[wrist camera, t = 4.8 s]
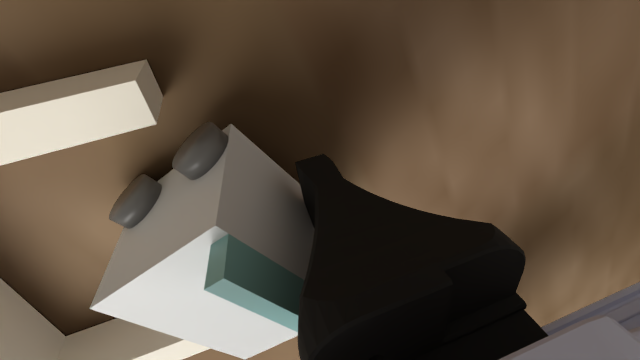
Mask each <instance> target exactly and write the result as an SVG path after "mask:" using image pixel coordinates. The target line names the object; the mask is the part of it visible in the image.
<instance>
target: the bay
mask: <svg viewBox="0 0 640 360" xmlns="http://www.w3.org/2000/svg"><path fill="white" fill-rule="evenodd" d="M162 100H163V95H162V93H161V90H160V88H159V86H158V84H157V82H156V79H155V77H154V75H153V73H152V70H151V68H150V66H149V64H148V61H147V59H146V60H142V61H137V62H133V63H129V64H124V65H120V66H116V67H111V68H107V69H103V70H98V71H94V72H89V73H85V74H81V75H76V76H72V77H68V78H63V79H59V80H55V81H50V82H46V83H42V84H37V85H33V86H29V87H24V88H20V89H16V90H11V91H7V92H3V93H0V165H4V164H8V163H12V162H15V161H19V160H23V159H27V158H31V157H34V156H38V155H42V154H46V153H49V152H53V151H57V150H61V149H65V148H68V147H72V146H76V145H80V144H84V143H87V142H91V141H95V140H99V139H102V138H106V137H110V136H114V135H118V134H121V133H125V132H129V131H133V130H137V129H140V128H144V127H148V126H152V125H155V124H157V121H158V117H159V112H160V108H161V104H162ZM208 349H210V348H208V347H205V346H202V345H199V344H196V343H193V342H190V341H187V340H184V339H181V338H178V337H175V336H172V335H168V334H165V333H162V332H159V331H156V330H153V329H150V328H147V327H144V326H141V325H138V324H135V323H132V322H129V321H125V320H122V319H119V318H116V319H113V320H110V321H107V322H105V323H102V324H99V325H96V326H93V327H90V328H88V329H85V330H82V331H79V332H76V333H74V334H71V335H68V336H65V335H64V334H62V333H61V332H60V331H59V330H58V329H57V328H56V327H55V326H54V325H52V324H51V323H50V322H49V321H48V320H47V319H46V318H45V317H43V316H42V315H41V314H40V313H39V312H38V311H37V310H36V309H34V308H33V307H32V306H31V305H30V304H29V303H28V302H27V301H25V300H24V299H23V298H22V297H21V296H20V295H19V294H18V293H16V292H15V291H14V290H13V289H12V288H11V287H10V286H9V285H7V284H6V283H5V282H4V281H3V280H2V279H1V278H0V360H182V359H184V358H187V357H190V356H192V355H195V354H197V353H200V352H202V351H205V350H208Z"/></svg>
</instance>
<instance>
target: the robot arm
mask: <svg viewBox="0 0 640 360" xmlns="http://www.w3.org/2000/svg"><path fill="white" fill-rule="evenodd" d="M295 163H296V168H297V172H298V177H299V181H300V186H301V191H302V195H303V200H304V203H305V206H306V208H307V211H308V214H309V216H310V219H311V222H312V224H313V227H314V237H313V244H312V251H311V255H310V260H309V265H308V269H307V273H306V277H305V280H304V283H303V287H302V290H301V293H300V297H299V315H298V349H299V355H300V359H301V360H640V282H638V283H636V284H633V285H631V286H629V287H627V288H625V289H623V290H621V291H618V292H616V293H614V294H612V295H610V296H608V297H605V298H603V299H601V300H599V301H597V302H595V303H592V304H590V305H588V306H586V307H584V308H582V309H580V310H577V311H575V312H573V313H571V314H569V315H567V316H564V317H562V318H560V319H558V320H556V321H554V322H551V323H549V324H547V325H545V326H543V327H540V326H539V325H538V324H537V323H536V322H535V321H534V320H533V319H532V318H531V317H530V316H529V315H528V314H527V313H526V311H525V310H524V309H526V306H527V305H526V303H525V301H524V300H523V299H522V298H521V297H520V296H519V295H518V294H517V293H516V290H517V287H518V284H519V281H520V279H521V276H522V273H523V271H524V266H525V255H524V251H523V250H522V249H521V248H520V247H519V246H517V245H516V244H515V243H514V242H513V241H512V240H511V239H510V238H509V237H507V236H506V235H505V234H504V233H503V232H501V231H500V230H499V229H498V228H497V227H495V226H494V225H492V224H491V223H484V222H477V221H470V220H463V219H456V218H451V217H446V216H441V215H437V214H432V213H428V212H424V211H420V210H417V209H413V208H410V207H407V206H403V205H400V204H398V203H395V202H392V201H389V200H387V199H384V198H382V197H379V196H377V195H375V194H372V193H370V192H368V191H366V190H364V189H362V188H360V187H358V186H356V185H354V184H353V183H351V182H349V181H347V180H346V179H344V178H343V177H342V175H341V174H340V172H339V170H338V169H337V167H336V166H335V164H334V163H333V161H332V160H330V159H329V158H328V157H327V156H326V155H324V154H322V155H318V156H315V157H312V158H308V159H305V160H302V161H298V162H295Z"/></svg>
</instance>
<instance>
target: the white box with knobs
mask: <svg viewBox="0 0 640 360" xmlns="http://www.w3.org/2000/svg"><path fill="white" fill-rule="evenodd" d="M172 167H173V168H174V169H172V170H171V171H170V172H169V173H167V174H166V175H165V176H164V177H162V178H161V179H160V180H158V181H155V180H153V179H152V178H150V177H149V176H147V175H145V174H142V175H140V176H139V177H137V178H136V179H135V180H134V181H133V182H131V183H130V185H129V186H128V187H127V188H126V189H125V190H124V191H123V193H122V194H121V195H120V196H119V198H118V199H117V201H116V202H115V204H114V206H113V208H112V210H111V212H110V215H109V219H110V220H112V221H114V222H116V223H118V224H120V225H122V226H124V228H123V231H122V233H121V235H120V238H119V240H118V242H117V245H116V247H115V249H114V252H113V254H112V257H111V259H110V261H109V264H108V266H107V268H106V271H105V273H104V275H103V278H102V280H101V283H100V285H99V287H98V290H97V292H96V294H95V297H94V299H93V301H92V304H91V306H90V308H89V309H92V310H95V311H98V312H101V313H104V314H107V315H110V316H113V317H116V318H119V319H122V320H125V321H129V322H132V323H135V324H138V325H141V326H144V327H147V328H150V329H153V330H156V331H159V332H162V333H165V334H168V335H172V336H175V337H178V338H181V339H184V340H187V341H190V342H193V343H196V344H199V345H202V346H205V347H208V348H212V349H215V350H218V351H221V352H224V353H227V354H230V355H233V356H236V357H239V358H242V359H247V358H249V357H252V356H254V355H256V354H258V353H260V352H263V351H265V350H267V349H269V348H271V347H274V346H276V345H278V344H280V343H282V342H285V341H287V340H289V339H291V338H293V337H296V336H298V315H299V297H300V293H301V290H302V287H303V283H304V280H305V277H306V273H307V269H308V265H309V260H310V255H311V251H312V244H313V237H314V227H313V224H312V222H311V219H310V216H309V214H308V211H307V208H306V206H305V203H304V200H303V195H302V191H301V186H300V184H299V183H298V182H297V181H296V180H295V179H293V178H292V177H291V176H290V175H289V174H288V173H287V172H285V171H284V170H283V169H282V168H281V167H280V166H279V165H278V164H276V163H275V162H274V161H273V160H272V159H271V158H270V157H268V156H267V155H266V154H265V153H264V152H263V151H262V150H261V149H259V148H258V147H257V146H256V145H255V144H254V143H253V142H251V141H250V140H249V139H248V138H247V137H246V136H245V135H244V134H242V133H241V132H240V131H239V130H238V129H237V128H236V127H234V126H233V125H232V124H230V125H229V126H227V127H226V128H225V129H223V130H221V129H219V128H218V127H217V126H216V125H215V124H214V123H212V122H207V123H205V124H203V125H201V126H200V127H199V128H197V129H196V130H195V131H194V132H193V133H192V134H191V135H190V136H189V137H188V138H187V139H186V140H185V141H184V143H183V144H182V145H181V147H180V148H179V150H178V151H177V153H176V155H175V157H174V159H173V162H172Z"/></svg>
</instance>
